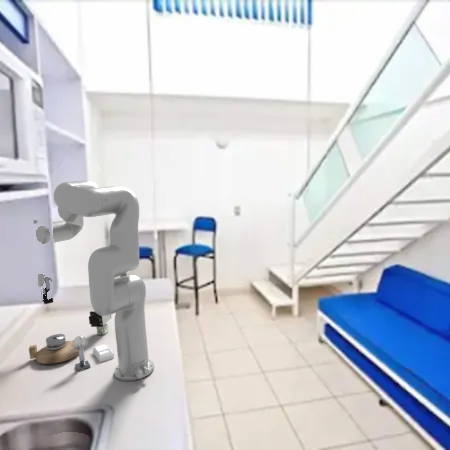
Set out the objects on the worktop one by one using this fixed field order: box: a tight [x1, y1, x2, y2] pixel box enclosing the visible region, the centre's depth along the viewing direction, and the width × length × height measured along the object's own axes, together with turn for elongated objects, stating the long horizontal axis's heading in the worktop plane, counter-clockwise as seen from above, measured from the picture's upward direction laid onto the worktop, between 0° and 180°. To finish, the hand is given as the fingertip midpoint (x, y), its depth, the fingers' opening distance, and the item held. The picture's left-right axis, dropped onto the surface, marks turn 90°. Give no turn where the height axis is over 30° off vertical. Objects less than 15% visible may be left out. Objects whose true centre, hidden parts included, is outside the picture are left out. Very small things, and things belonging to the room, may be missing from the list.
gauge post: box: [72, 335, 91, 372], centre depth 126 cm, size 4×4×11 cm
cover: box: [45, 333, 67, 351], centre depth 138 cm, size 7×7×4 cm
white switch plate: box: [92, 343, 115, 363], centre depth 134 cm, size 5×9×3 cm, turn 34°
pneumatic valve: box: [88, 308, 112, 336], centre depth 153 cm, size 6×12×12 cm, turn 174°
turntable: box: [28, 340, 79, 365], centre depth 135 cm, size 17×15×4 cm
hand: (48, 301), depth 144 cm, fingers open, 2 cm apart
